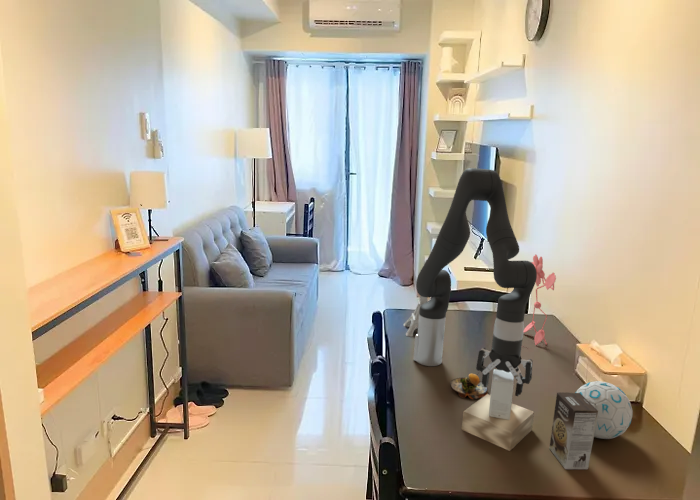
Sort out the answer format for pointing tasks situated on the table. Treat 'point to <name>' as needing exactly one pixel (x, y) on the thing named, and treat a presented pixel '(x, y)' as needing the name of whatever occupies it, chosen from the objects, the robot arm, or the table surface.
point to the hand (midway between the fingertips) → (501, 390)
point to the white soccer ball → (608, 408)
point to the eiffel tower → (415, 317)
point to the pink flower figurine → (548, 284)
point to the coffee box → (573, 430)
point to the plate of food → (469, 387)
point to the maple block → (497, 424)
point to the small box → (501, 394)
